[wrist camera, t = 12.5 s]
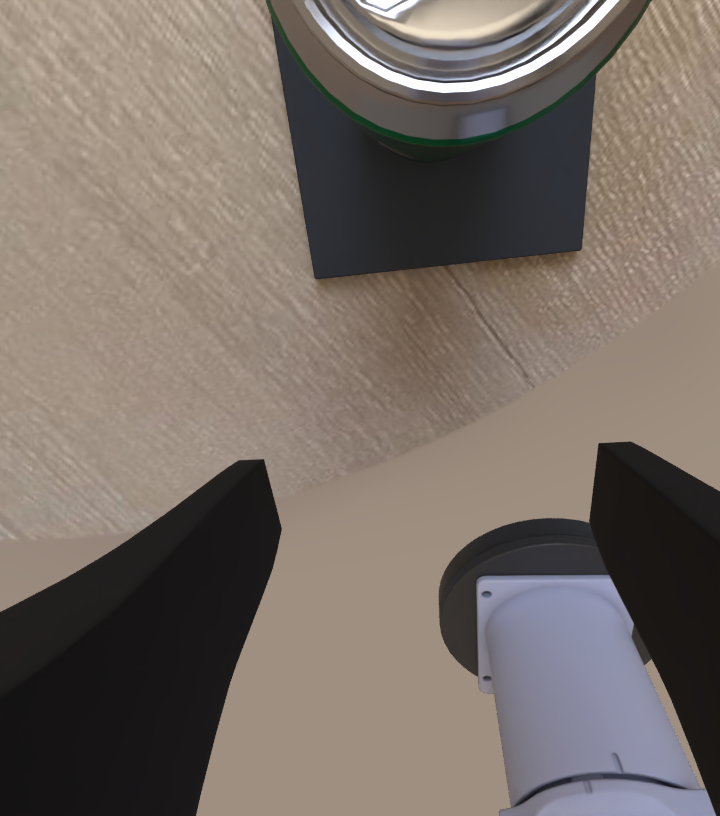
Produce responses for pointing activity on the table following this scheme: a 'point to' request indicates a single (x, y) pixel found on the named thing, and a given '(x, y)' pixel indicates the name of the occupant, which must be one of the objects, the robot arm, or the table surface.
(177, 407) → the table surface
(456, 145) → the soda can
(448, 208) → the mat
